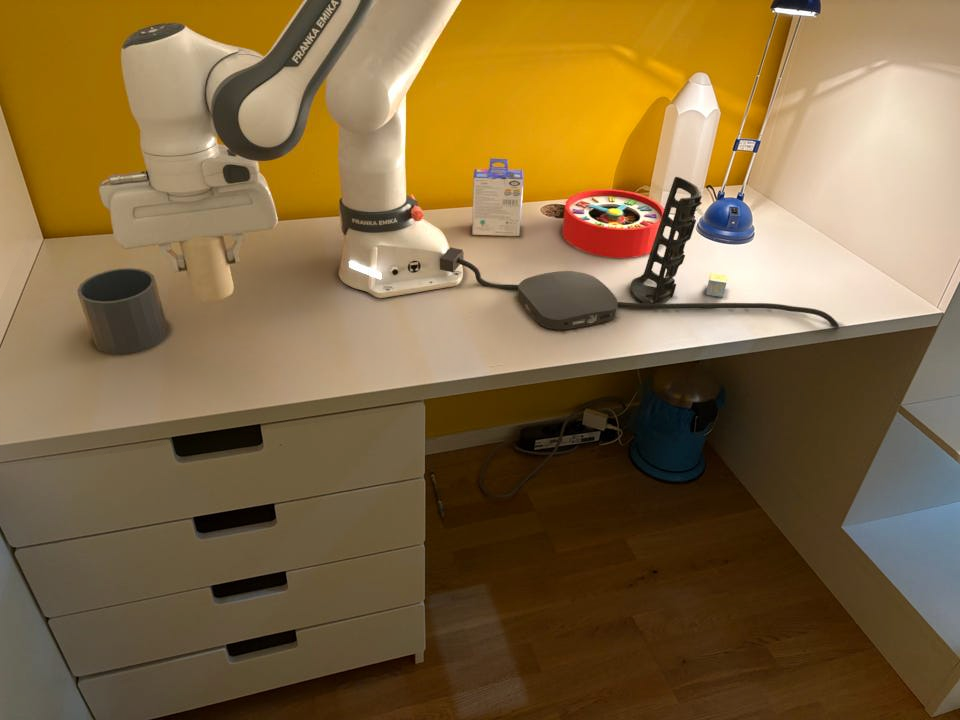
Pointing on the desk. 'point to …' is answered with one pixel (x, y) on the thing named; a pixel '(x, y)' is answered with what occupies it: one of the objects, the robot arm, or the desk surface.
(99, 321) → the pen holder
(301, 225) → the desk surface
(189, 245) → the candle
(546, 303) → the media streaming box
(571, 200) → the toy clock
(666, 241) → the holder
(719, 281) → the alphabet block
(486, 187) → the ink cartridge box
